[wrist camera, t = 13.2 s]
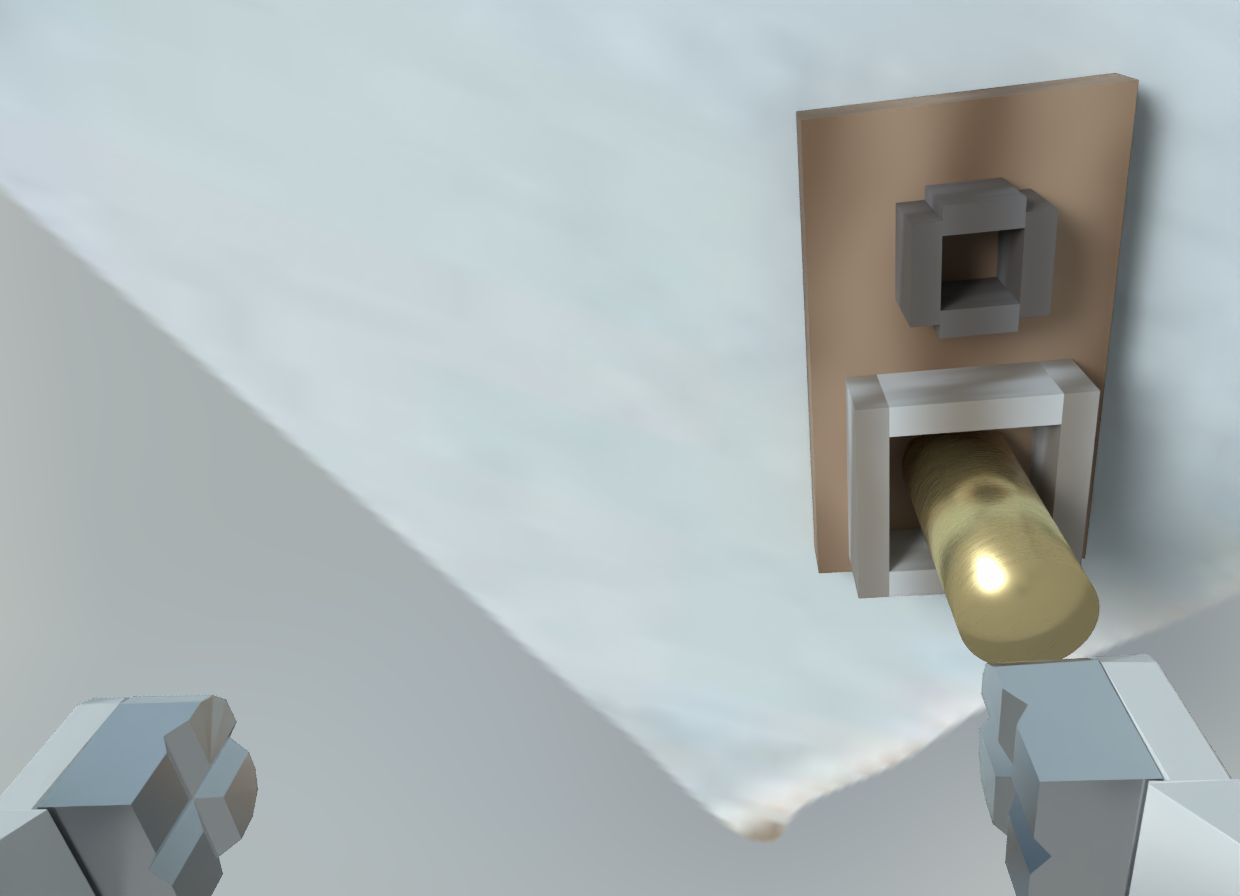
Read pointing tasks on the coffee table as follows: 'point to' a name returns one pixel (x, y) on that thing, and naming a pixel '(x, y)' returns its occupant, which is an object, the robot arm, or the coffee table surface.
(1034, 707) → the robot arm
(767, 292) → the coffee table surface
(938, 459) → the brass cylinder rod
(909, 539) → the board
